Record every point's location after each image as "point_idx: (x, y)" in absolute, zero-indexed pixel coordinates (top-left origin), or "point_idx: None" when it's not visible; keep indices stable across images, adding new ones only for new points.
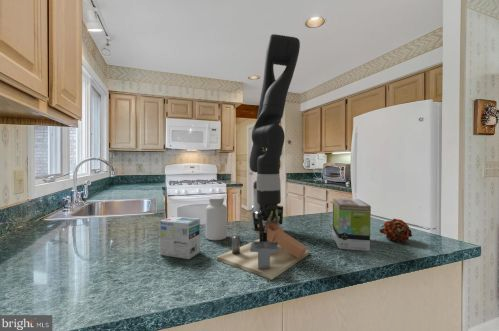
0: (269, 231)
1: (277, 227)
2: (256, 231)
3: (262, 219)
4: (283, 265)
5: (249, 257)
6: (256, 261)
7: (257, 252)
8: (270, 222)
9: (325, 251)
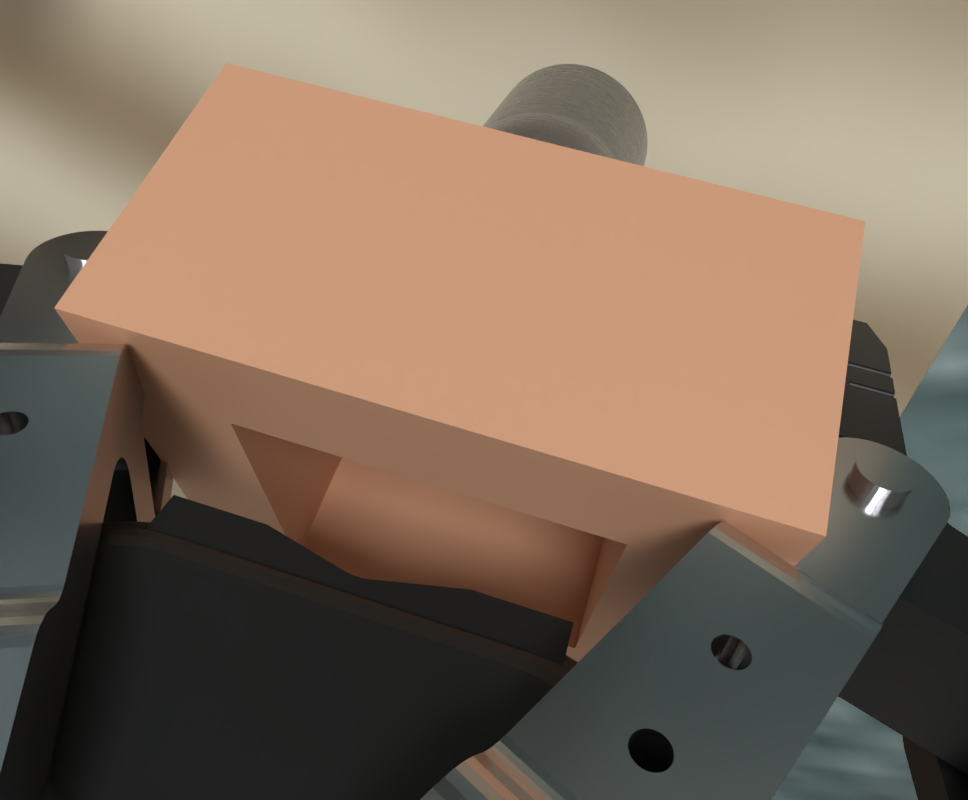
0: (201, 503)
1: (584, 627)
2: (218, 82)
3: (90, 504)
4: (175, 481)
5: (48, 30)
6: (33, 190)
7: (296, 60)
8: (647, 543)
9: (904, 782)
